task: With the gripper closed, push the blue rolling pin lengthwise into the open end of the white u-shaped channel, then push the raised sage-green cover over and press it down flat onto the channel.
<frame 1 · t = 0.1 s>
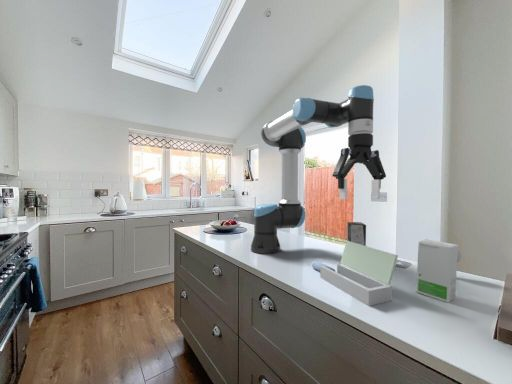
hand: (359, 199, 78), 28 cm above the worktop, fingers open, 13 cm apart
cover: (365, 259, 76), point 8 cm above the worktop, hinge at 110.0°
white u-shaped channel: (350, 287, 74), on the worktop
coffee box: (355, 259, 104), on the worktop
lightbulb: (449, 277, 84), on the worktop
skincare box: (436, 295, 69), on the worktop
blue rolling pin: (323, 272, 88), on the worktop
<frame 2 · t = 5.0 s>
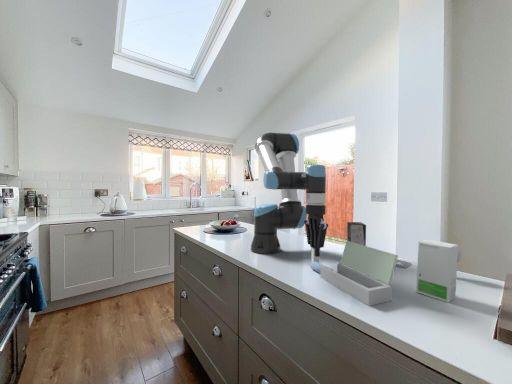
hand: (315, 264, 92), 2 cm above the worktop, fingers closed
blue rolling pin: (324, 271, 87), on the worktop, tilted 48°, touching gripper
everything else where it was.
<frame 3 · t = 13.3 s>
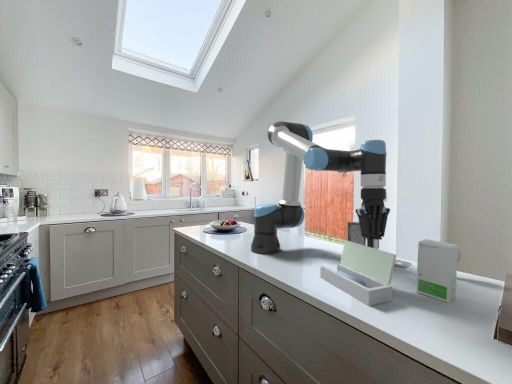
hand: (373, 258, 78), 8 cm above the worktop, fingers closed
cover: (364, 259, 76), point 8 cm above the worktop, hinge at 105.2°, touching gripper
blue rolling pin: (347, 285, 76), resting in white u-shaped channel, tilted 29°
everything else where it was.
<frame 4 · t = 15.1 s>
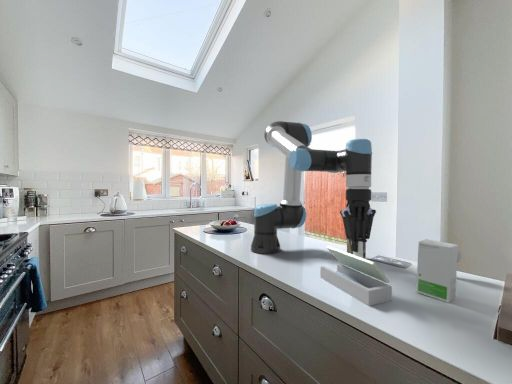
hand: (357, 261, 75), 8 cm above the worktop, fingers closed
cover: (354, 262, 75), point 8 cm above the worktop, hinge at 46.1°, touching gripper
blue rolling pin: (347, 286, 76), resting in white u-shaped channel, tilted 11°
everything else where it was.
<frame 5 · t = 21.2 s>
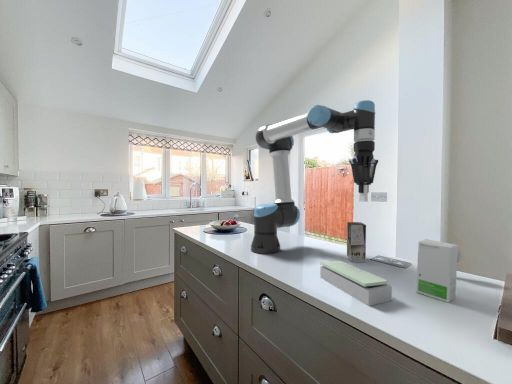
hand: (363, 201, 93), 26 cm above the worktop, fingers closed
cover: (350, 271, 74), point 5 cm above the worktop, hinge at 2.6°
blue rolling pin: (347, 283, 76), point 1 cm above the worktop, tilted 59°
everything else where it was.
at the end: cover at +3° (first picture: +110°); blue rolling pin inside the target area on the white u-shaped channel (3.8 cm from its centre), point 0.5 cm above the white u-shaped channel's base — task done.
